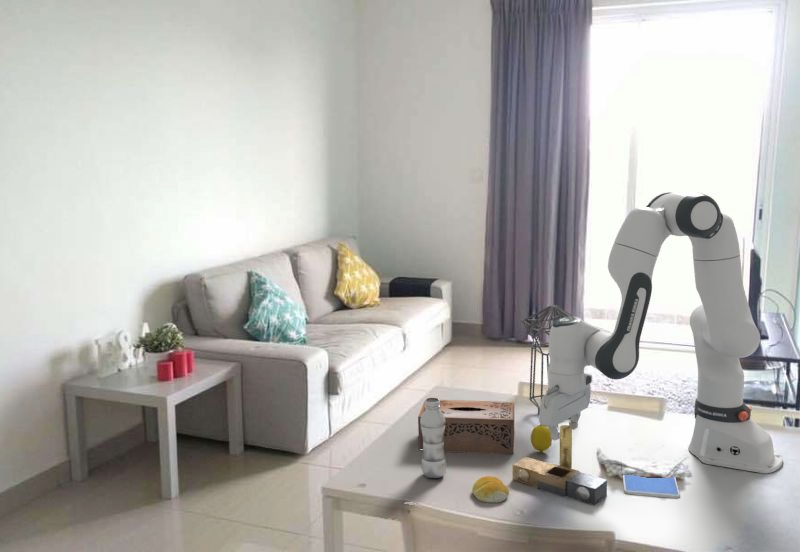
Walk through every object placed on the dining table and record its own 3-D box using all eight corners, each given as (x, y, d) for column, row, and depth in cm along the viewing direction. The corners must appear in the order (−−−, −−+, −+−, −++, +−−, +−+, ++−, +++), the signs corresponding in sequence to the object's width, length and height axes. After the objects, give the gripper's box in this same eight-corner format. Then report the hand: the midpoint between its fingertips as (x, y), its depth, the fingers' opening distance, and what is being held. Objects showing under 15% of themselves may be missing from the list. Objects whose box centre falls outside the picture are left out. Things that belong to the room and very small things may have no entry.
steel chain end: (607, 494, 172) (608, 478, 172) (593, 506, 167) (594, 489, 166) (552, 478, 182) (552, 463, 181) (537, 488, 176) (537, 473, 176)
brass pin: (573, 467, 188) (574, 426, 186) (568, 471, 185) (568, 430, 184) (563, 464, 189) (563, 424, 188) (557, 468, 187) (557, 427, 185)
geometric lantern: (590, 422, 219) (589, 308, 212) (541, 429, 215) (539, 313, 209) (566, 404, 234) (565, 297, 228) (520, 410, 231) (518, 302, 224)
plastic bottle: (426, 483, 181) (424, 405, 178) (418, 472, 188) (416, 397, 184) (450, 479, 183) (449, 402, 179) (441, 468, 189) (440, 394, 186)
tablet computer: (620, 462, 191) (620, 457, 191) (671, 466, 188) (672, 461, 188) (623, 496, 173) (624, 490, 173) (680, 500, 170) (680, 495, 169)
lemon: (551, 457, 194) (551, 428, 193) (530, 455, 196) (530, 427, 194) (551, 448, 200) (551, 421, 198) (531, 447, 201) (531, 420, 200)
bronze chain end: (579, 486, 177) (579, 470, 176) (565, 497, 172) (565, 481, 171) (526, 470, 186) (526, 455, 186) (511, 480, 181) (511, 465, 180)
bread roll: (499, 484, 180) (499, 469, 179) (512, 501, 171) (512, 485, 170) (467, 489, 178) (467, 473, 177) (479, 505, 169) (479, 489, 168)
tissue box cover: (419, 451, 201) (418, 416, 200) (426, 431, 215) (425, 399, 214) (513, 455, 197) (513, 419, 195) (514, 435, 211) (514, 401, 209)
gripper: (556, 394, 174) (555, 449, 176) (595, 374, 189) (593, 425, 191) (533, 389, 178) (532, 442, 180) (573, 370, 193) (572, 419, 195)
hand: (564, 433), depth 186 cm, fingers open, 8 cm apart
